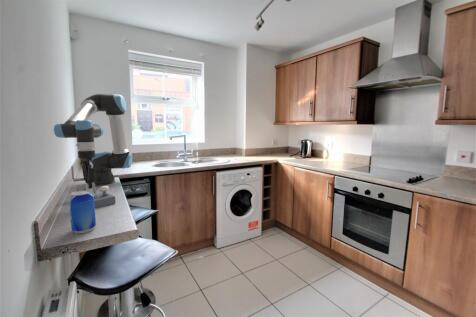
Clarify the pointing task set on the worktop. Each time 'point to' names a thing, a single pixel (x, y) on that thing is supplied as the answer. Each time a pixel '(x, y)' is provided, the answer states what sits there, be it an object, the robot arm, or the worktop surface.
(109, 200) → the mount block
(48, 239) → the worktop surface
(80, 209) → the beer can
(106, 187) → the knob cream
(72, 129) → the robot arm
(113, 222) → the worktop surface
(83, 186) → the electrical switch
